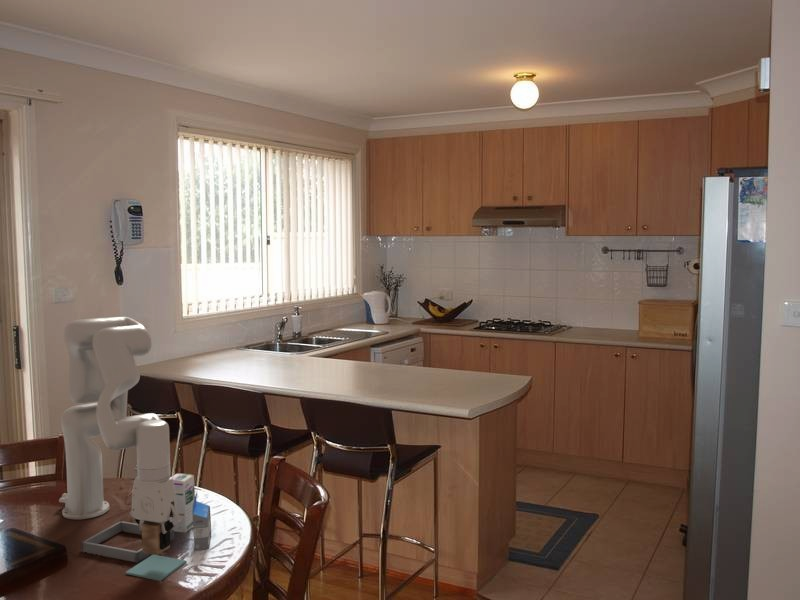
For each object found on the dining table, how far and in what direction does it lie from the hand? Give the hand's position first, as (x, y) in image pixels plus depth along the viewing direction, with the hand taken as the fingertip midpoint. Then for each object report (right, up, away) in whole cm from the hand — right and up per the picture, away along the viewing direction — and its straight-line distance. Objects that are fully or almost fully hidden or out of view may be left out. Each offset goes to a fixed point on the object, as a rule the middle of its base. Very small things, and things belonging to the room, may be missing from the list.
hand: (156, 544), depth 174 cm
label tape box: (+7, -5, +15) cm, 17 cm away
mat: (0, -6, +1) cm, 6 cm away
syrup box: (-1, -4, +24) cm, 25 cm away
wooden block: (0, -1, 0) cm, 1 cm away
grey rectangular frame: (-12, -5, +13) cm, 18 cm away
